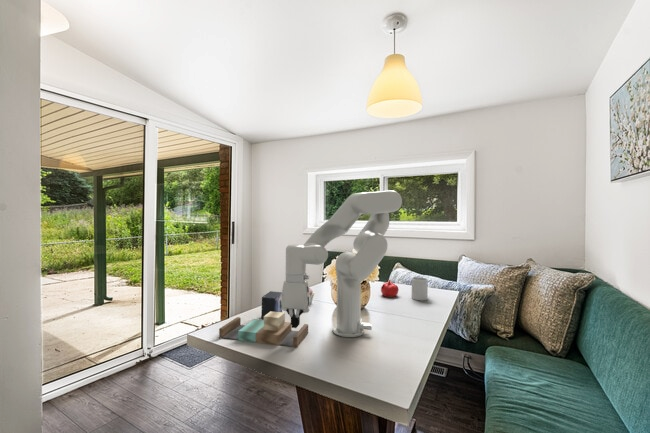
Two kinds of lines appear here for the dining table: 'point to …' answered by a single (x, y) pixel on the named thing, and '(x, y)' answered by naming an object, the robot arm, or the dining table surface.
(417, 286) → the mug
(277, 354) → the dining table surface
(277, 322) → the beech block
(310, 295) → the cupcake
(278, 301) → the small box
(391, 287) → the pomegranate
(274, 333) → the board
